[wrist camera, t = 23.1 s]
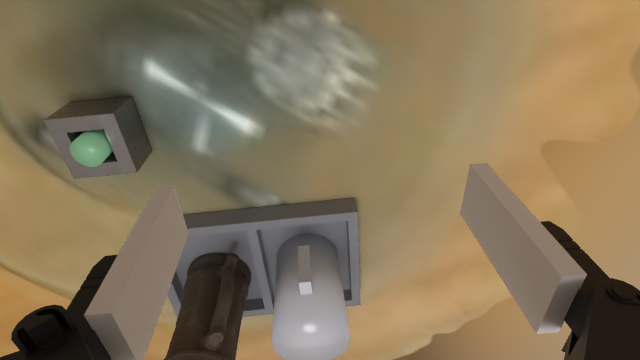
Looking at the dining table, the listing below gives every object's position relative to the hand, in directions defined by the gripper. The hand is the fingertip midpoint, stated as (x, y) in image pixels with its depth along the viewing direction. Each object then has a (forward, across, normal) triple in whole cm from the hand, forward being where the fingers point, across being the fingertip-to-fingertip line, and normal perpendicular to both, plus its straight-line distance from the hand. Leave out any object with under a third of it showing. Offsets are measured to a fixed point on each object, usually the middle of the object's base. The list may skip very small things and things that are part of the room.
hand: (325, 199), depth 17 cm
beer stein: (+33, -16, -35) cm, 51 cm away
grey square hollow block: (+34, -26, -10) cm, 44 cm away
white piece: (+32, -2, -34) cm, 47 cm away
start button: (+32, -26, -10) cm, 43 cm away
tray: (+34, -10, -35) cm, 50 cm away
